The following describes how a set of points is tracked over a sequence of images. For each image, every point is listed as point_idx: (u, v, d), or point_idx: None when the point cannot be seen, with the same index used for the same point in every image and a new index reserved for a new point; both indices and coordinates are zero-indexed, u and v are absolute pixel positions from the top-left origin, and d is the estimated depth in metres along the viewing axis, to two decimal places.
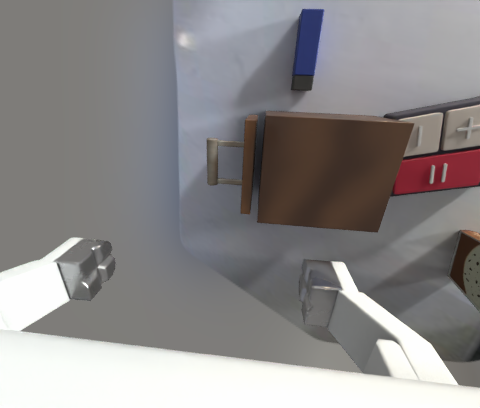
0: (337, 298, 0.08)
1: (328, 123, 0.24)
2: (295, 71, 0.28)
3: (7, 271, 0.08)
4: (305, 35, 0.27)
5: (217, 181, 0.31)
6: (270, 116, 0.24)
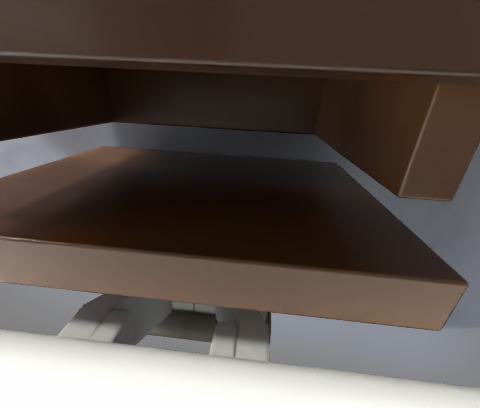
0: None
1: None
2: None
3: None
4: None
5: None
6: None
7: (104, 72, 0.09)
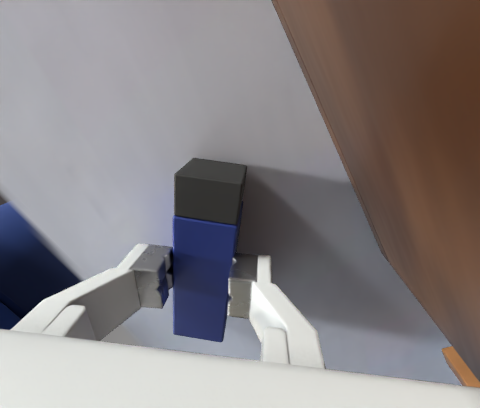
0: (252, 289, 0.08)
1: None
2: (234, 233, 0.08)
3: (89, 280, 0.07)
4: (211, 303, 0.10)
5: None
6: None
7: None
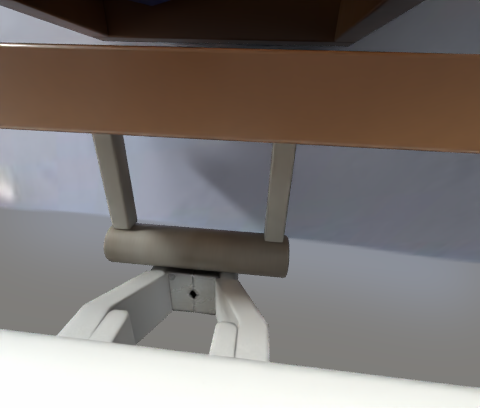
0: (215, 286, 0.08)
1: None
2: None
3: (126, 283, 0.07)
4: None
5: (273, 242, 0.07)
6: None
7: None
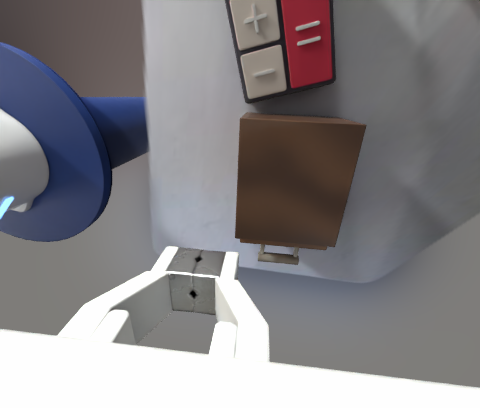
0: (215, 285, 0.08)
1: (240, 193, 0.27)
2: None
3: (126, 283, 0.07)
4: None
5: (295, 257, 0.35)
6: (235, 235, 0.30)
7: None
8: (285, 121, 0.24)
